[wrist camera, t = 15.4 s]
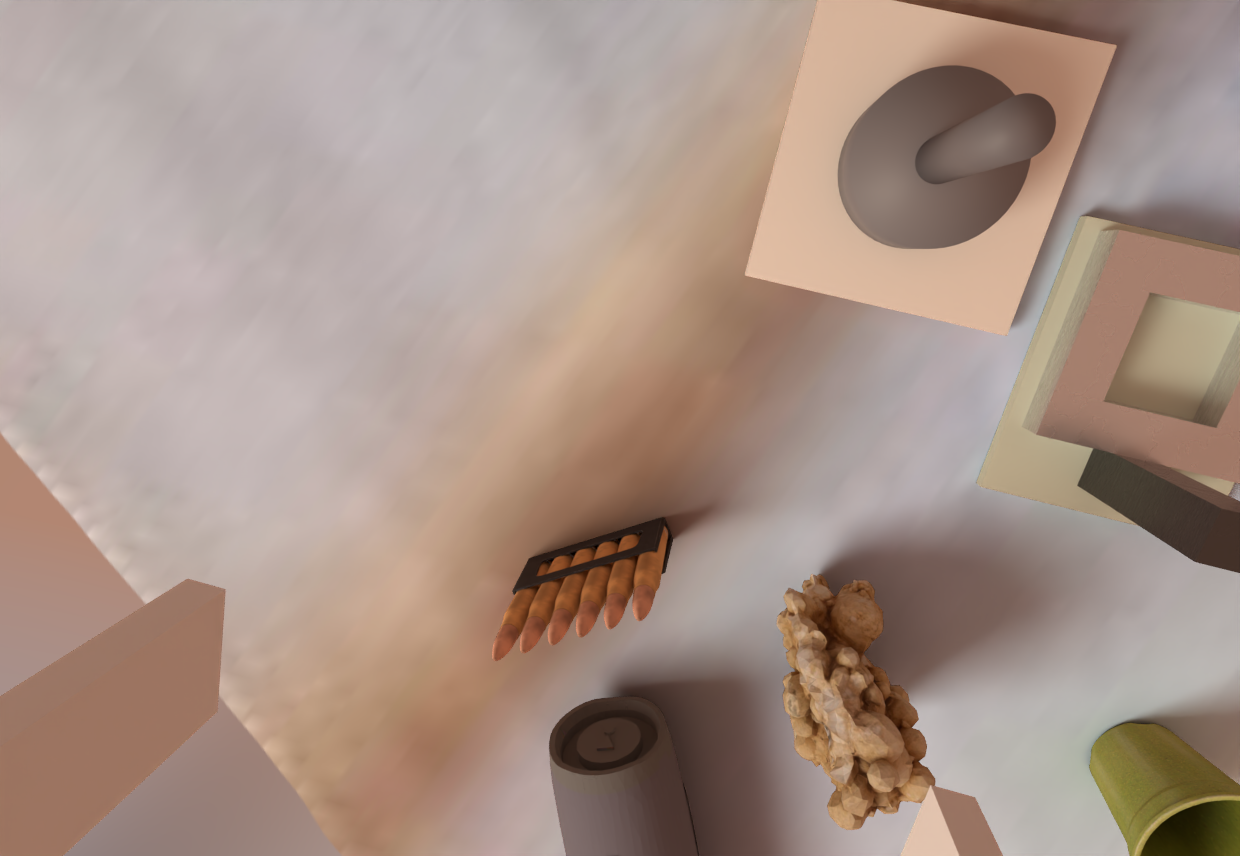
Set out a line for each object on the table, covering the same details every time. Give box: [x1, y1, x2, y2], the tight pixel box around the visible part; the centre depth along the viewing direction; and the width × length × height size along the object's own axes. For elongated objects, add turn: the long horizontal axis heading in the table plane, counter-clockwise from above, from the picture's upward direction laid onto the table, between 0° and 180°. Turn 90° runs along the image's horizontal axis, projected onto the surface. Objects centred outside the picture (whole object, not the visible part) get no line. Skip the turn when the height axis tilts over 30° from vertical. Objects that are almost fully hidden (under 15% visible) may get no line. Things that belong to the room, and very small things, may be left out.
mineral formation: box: [776, 574, 935, 830], centre depth 42 cm, size 8×13×15 cm, turn 21°
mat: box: [976, 216, 1240, 526], centre depth 42 cm, size 17×14×1 cm
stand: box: [745, 0, 1117, 336], centre depth 33 cm, size 16×16×15 cm
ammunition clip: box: [492, 517, 673, 661], centre depth 44 cm, size 11×2×12 cm, turn 111°
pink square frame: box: [1022, 230, 1240, 573], centre depth 36 cm, size 15×12×11 cm
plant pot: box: [1089, 723, 1240, 856], centre depth 44 cm, size 9×9×9 cm
